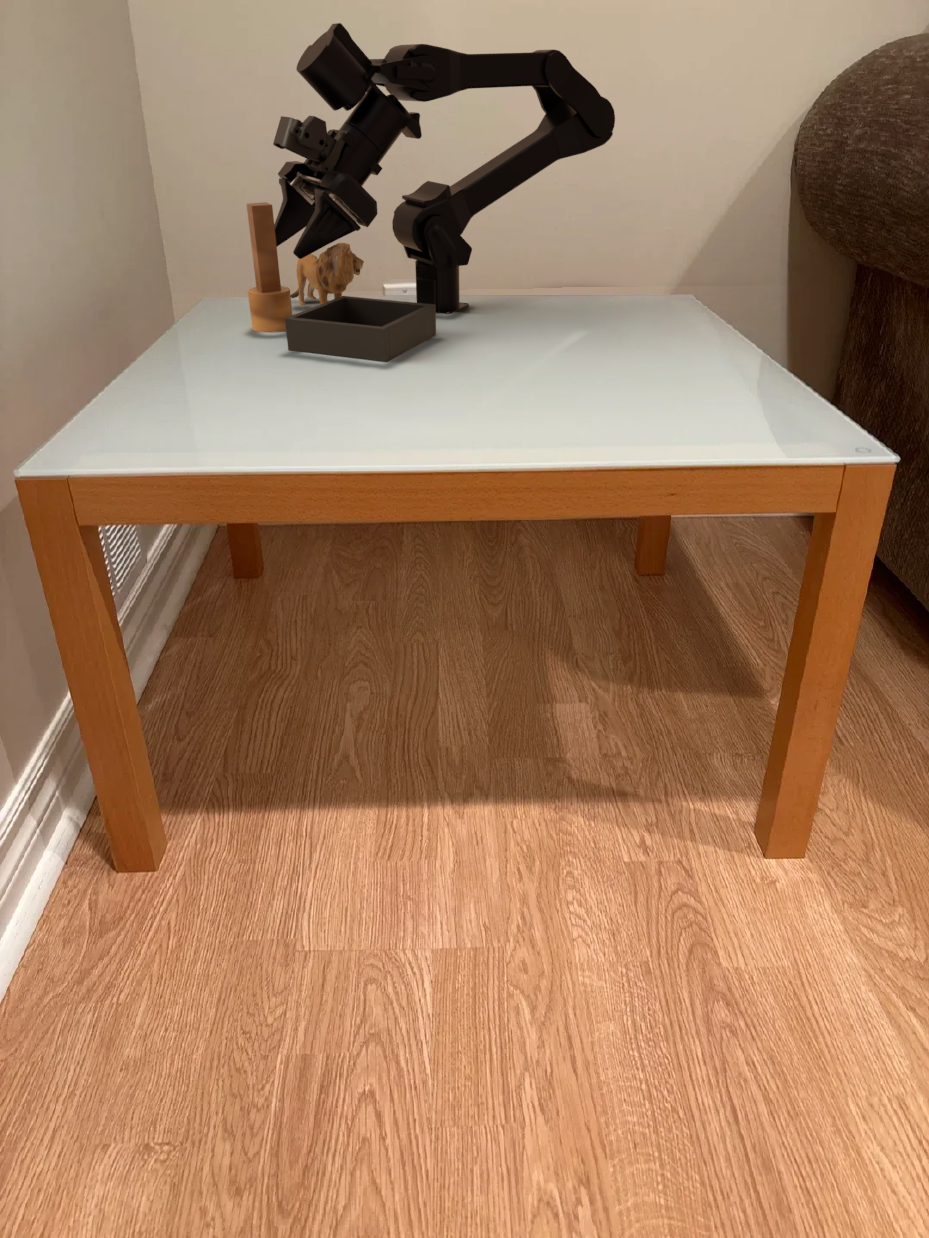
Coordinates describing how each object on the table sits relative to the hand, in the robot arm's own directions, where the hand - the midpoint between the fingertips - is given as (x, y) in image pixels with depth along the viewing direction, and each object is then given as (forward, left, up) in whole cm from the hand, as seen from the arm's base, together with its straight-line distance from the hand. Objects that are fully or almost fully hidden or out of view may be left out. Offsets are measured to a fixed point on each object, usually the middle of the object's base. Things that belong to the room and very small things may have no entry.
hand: (283, 250), depth 109 cm
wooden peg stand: (+2, -1, -9) cm, 10 cm away
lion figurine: (-11, -2, -9) cm, 14 cm away
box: (+4, +13, -9) cm, 16 cm away
